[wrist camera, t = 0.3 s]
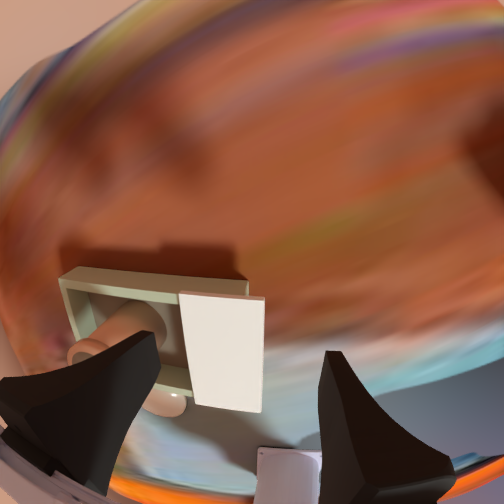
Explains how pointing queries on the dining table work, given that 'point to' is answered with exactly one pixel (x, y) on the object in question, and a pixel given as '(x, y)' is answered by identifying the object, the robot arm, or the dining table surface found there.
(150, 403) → the saucer
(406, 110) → the dining table surface
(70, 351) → the pot
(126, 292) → the box with sliding lid
